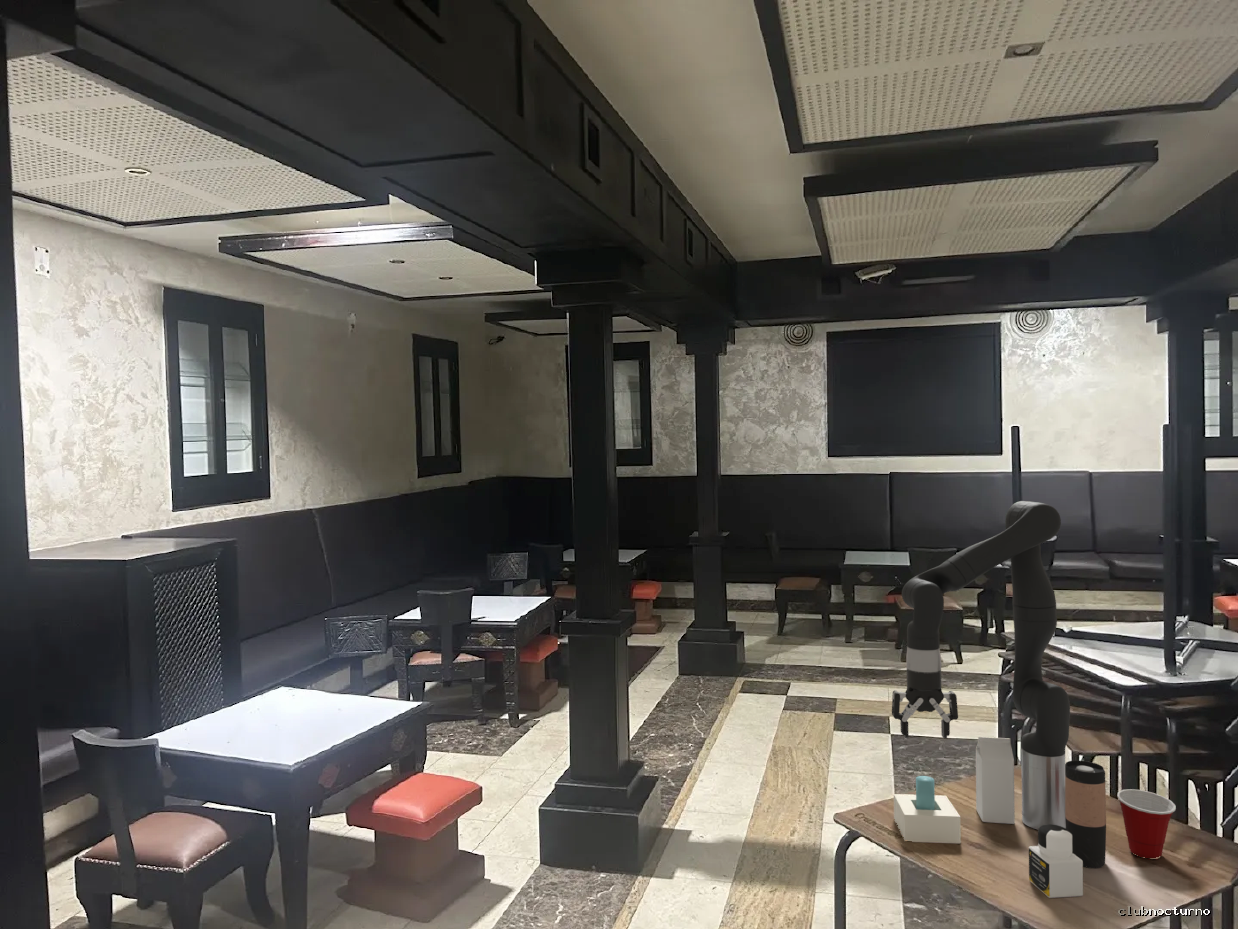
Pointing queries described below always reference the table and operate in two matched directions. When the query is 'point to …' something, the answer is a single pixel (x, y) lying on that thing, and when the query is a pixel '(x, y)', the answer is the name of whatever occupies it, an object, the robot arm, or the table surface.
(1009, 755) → the milk carton
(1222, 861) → the table surface
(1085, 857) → the travel mug
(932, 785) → the peg
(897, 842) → the table surface
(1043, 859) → the medicine bottle
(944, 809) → the socket block
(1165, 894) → the table surface
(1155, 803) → the plastic cup
